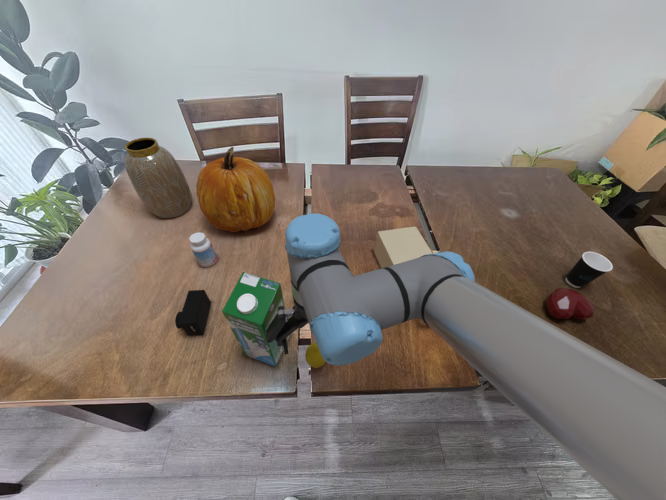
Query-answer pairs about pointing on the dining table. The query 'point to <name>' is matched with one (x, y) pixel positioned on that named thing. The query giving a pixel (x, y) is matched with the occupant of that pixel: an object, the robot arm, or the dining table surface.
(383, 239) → the cabinet
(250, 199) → the pumpkin
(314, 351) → the lemon
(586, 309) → the heart
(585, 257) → the dixie cup
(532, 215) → the dining table surface
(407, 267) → the robot arm
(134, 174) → the vase
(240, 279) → the milk carton
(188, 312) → the digital camera
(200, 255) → the pill bottle
